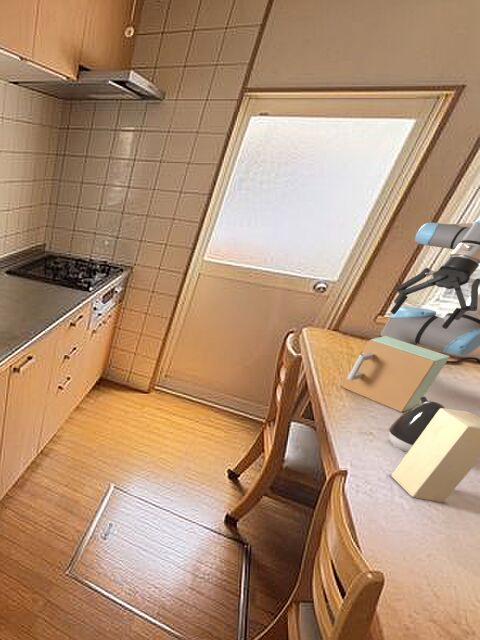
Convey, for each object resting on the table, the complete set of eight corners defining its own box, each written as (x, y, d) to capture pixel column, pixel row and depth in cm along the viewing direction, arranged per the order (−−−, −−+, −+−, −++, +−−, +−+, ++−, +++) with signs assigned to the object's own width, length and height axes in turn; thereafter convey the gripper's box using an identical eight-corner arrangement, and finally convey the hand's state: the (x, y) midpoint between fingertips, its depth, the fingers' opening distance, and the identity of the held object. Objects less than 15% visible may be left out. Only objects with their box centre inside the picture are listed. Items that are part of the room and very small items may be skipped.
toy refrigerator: (447, 504, 99) (506, 432, 90) (412, 498, 100) (467, 426, 91) (422, 481, 106) (474, 412, 97) (390, 475, 107) (438, 407, 98)
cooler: (402, 411, 138) (436, 360, 130) (344, 387, 152) (371, 339, 143) (416, 406, 142) (450, 356, 134) (358, 382, 156) (385, 335, 147)
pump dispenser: (416, 441, 122) (447, 397, 115) (439, 463, 114) (474, 417, 107) (375, 433, 125) (402, 389, 118) (393, 453, 116) (424, 407, 109)
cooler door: (391, 415, 135) (424, 364, 126) (332, 390, 148) (358, 342, 140) (402, 411, 138) (435, 361, 130) (344, 386, 152) (370, 339, 143)
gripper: (412, 247, 142) (370, 304, 148) (520, 266, 122) (466, 331, 128) (417, 255, 146) (375, 310, 152) (521, 274, 126) (469, 337, 132)
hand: (417, 320), depth 140 cm, fingers open, 13 cm apart
